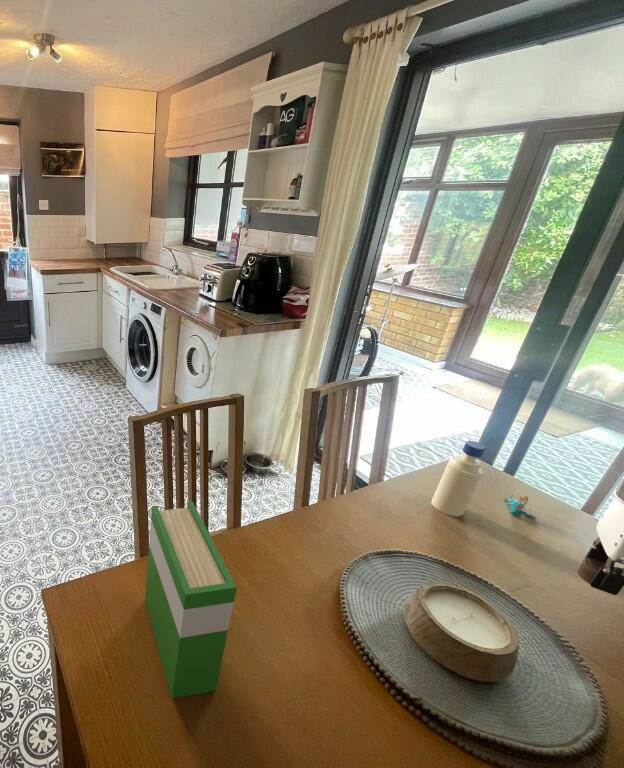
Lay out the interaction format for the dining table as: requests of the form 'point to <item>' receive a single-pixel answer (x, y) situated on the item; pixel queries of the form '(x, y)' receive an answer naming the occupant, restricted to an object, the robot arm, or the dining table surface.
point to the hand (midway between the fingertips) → (598, 577)
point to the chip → (590, 568)
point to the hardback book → (187, 600)
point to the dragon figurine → (518, 506)
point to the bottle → (459, 480)
